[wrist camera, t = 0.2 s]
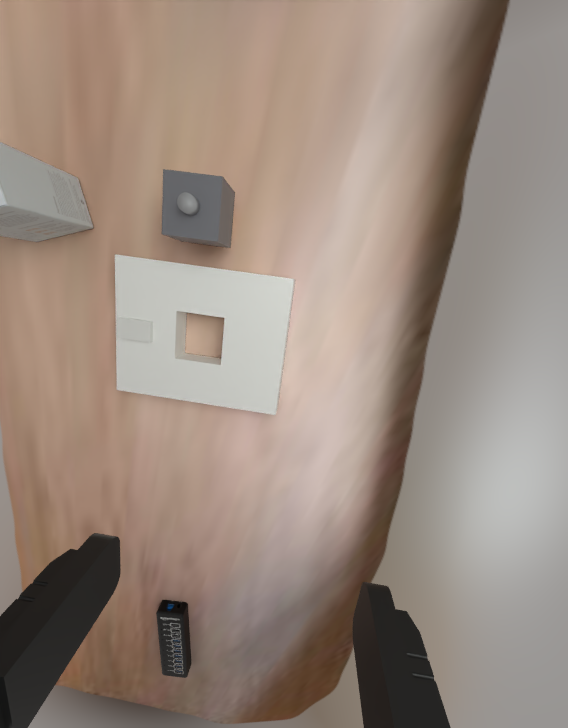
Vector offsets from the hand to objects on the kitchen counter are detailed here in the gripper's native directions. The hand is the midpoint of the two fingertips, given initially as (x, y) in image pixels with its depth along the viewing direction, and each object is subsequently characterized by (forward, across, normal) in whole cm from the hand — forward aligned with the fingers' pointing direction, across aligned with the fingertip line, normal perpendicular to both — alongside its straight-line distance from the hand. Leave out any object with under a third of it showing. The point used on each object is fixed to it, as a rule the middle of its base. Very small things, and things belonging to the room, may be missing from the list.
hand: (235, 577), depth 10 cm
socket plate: (+28, +11, -2) cm, 30 cm away
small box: (+29, +30, -14) cm, 44 cm away
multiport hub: (+29, +13, +51) cm, 60 cm away
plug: (+29, +11, -15) cm, 34 cm away
